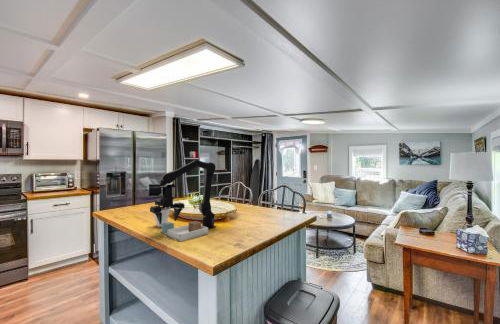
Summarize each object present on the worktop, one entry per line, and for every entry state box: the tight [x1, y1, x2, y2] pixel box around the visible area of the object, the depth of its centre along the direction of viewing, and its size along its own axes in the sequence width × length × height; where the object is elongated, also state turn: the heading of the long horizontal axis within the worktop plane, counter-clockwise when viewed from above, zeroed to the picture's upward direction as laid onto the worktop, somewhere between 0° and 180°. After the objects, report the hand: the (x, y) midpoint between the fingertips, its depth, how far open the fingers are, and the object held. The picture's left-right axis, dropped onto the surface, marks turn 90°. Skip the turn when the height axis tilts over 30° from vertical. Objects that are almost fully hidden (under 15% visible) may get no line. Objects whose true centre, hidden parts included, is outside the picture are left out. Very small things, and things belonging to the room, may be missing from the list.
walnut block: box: [187, 220, 202, 232], centre depth 142 cm, size 5×5×5 cm
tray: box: [166, 224, 209, 242], centre depth 139 cm, size 18×13×4 cm
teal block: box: [161, 221, 175, 235], centre depth 144 cm, size 5×5×5 cm
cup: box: [153, 209, 170, 228], centre depth 157 cm, size 10×10×11 cm
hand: (167, 222), depth 144 cm, fingers open, 9 cm apart
